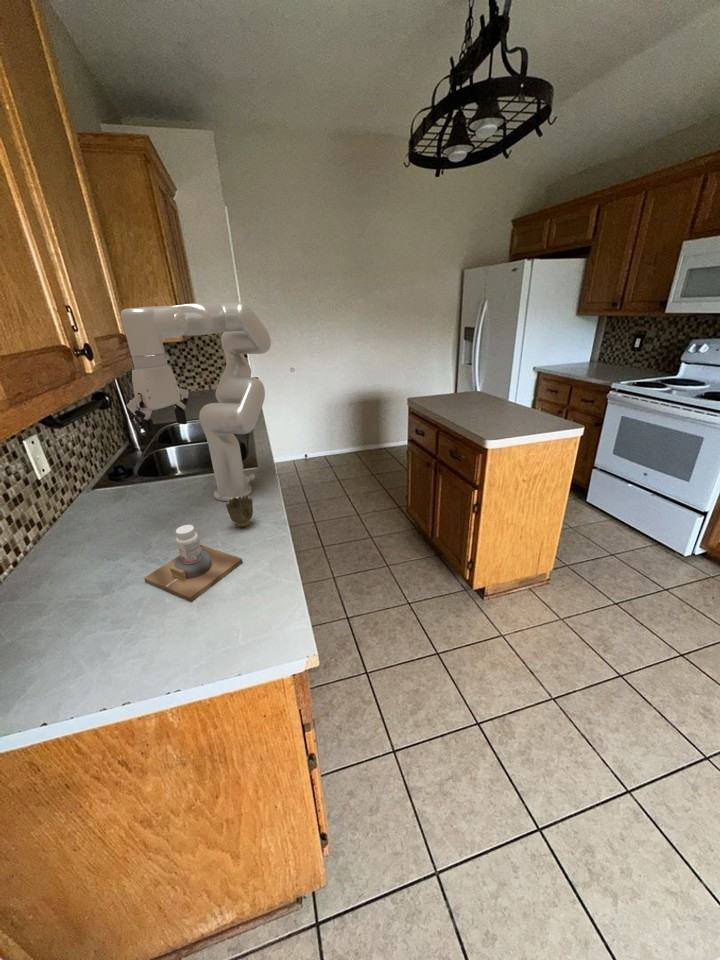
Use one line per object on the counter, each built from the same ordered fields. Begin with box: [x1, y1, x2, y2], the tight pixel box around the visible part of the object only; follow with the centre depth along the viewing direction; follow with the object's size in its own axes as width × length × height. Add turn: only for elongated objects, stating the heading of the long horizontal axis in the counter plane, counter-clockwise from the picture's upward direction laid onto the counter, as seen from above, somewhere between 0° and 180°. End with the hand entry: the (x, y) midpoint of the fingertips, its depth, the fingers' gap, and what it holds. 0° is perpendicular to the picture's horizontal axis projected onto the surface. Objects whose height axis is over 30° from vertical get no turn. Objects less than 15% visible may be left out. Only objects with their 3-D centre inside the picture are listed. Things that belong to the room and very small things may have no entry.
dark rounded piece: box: [225, 496, 254, 529], centre depth 115 cm, size 8×7×8 cm
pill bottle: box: [175, 524, 203, 564], centre depth 94 cm, size 5×5×8 cm
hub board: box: [143, 544, 244, 603], centre depth 96 cm, size 16×16×4 cm
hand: (167, 428), depth 105 cm, fingers open, 9 cm apart
